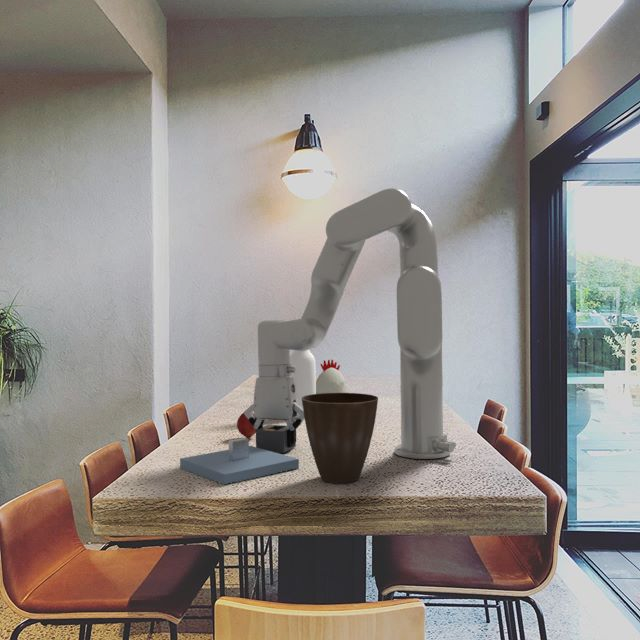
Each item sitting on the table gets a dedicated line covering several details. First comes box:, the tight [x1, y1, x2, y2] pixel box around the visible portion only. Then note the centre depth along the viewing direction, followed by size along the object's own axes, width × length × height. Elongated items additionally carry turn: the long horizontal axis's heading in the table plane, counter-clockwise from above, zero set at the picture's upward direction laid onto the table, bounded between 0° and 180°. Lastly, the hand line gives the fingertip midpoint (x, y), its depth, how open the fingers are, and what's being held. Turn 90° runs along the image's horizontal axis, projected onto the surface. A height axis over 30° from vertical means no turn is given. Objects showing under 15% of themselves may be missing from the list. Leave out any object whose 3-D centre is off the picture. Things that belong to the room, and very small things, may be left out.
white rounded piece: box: [316, 359, 350, 394], centre depth 237 cm, size 14×14×15 cm
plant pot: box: [302, 392, 379, 484], centre depth 119 cm, size 15×15×16 cm
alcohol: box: [289, 349, 317, 420], centre depth 193 cm, size 9×9×30 cm
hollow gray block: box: [255, 424, 297, 454], centre depth 145 cm, size 7×7×5 cm
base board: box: [179, 445, 300, 485], centre depth 128 cm, size 18×18×2 cm
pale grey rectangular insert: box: [228, 437, 250, 461], centre depth 128 cm, size 2×4×4 cm, turn 130°
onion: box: [236, 412, 256, 439], centre depth 159 cm, size 6×6×8 cm
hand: (276, 445), depth 145 cm, fingers closed on hollow gray block, 7 cm apart
